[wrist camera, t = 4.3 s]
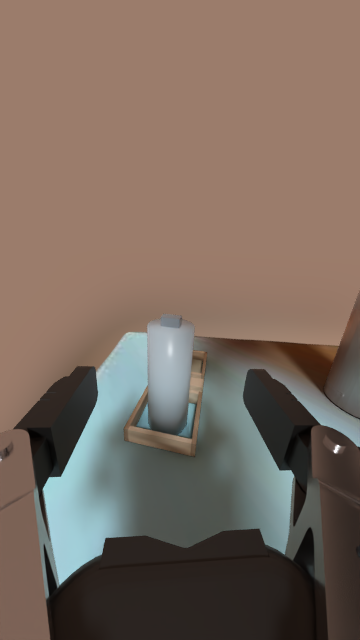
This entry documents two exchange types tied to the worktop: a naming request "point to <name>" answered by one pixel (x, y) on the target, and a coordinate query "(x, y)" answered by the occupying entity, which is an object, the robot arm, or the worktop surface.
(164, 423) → the grey cylindrical bottle
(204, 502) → the worktop surface
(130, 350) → the worktop surface
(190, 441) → the wooden organizer tray
